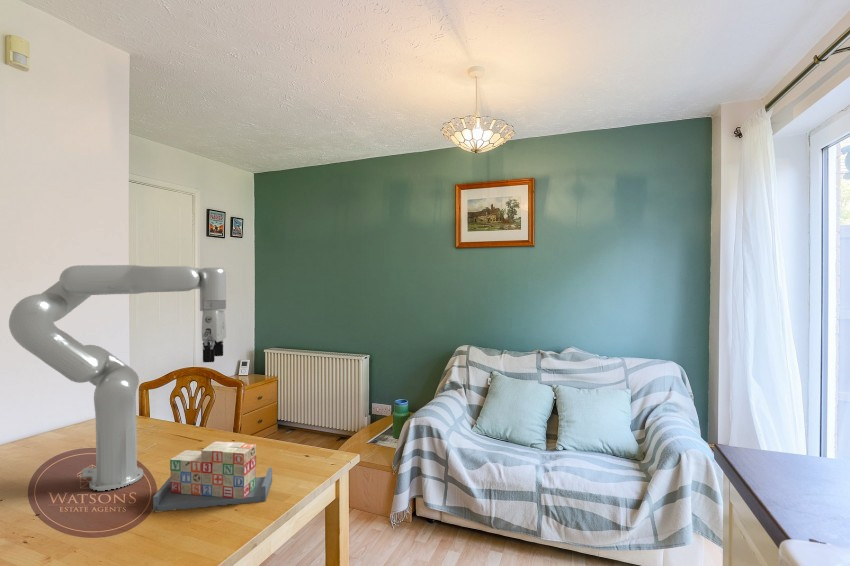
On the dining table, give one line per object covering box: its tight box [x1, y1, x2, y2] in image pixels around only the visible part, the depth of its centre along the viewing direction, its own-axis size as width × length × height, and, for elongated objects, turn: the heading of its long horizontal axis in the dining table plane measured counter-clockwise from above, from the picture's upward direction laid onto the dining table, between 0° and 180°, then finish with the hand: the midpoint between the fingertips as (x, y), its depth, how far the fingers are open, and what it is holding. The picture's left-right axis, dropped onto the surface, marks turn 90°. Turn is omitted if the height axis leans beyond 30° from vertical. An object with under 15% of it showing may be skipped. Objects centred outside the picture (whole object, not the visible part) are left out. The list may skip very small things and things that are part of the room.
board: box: [152, 467, 273, 513], centre depth 113 cm, size 27×11×4 cm, turn 102°
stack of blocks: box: [169, 441, 257, 499], centre depth 113 cm, size 21×6×12 cm, turn 83°
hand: (213, 358), depth 133 cm, fingers open, 9 cm apart
